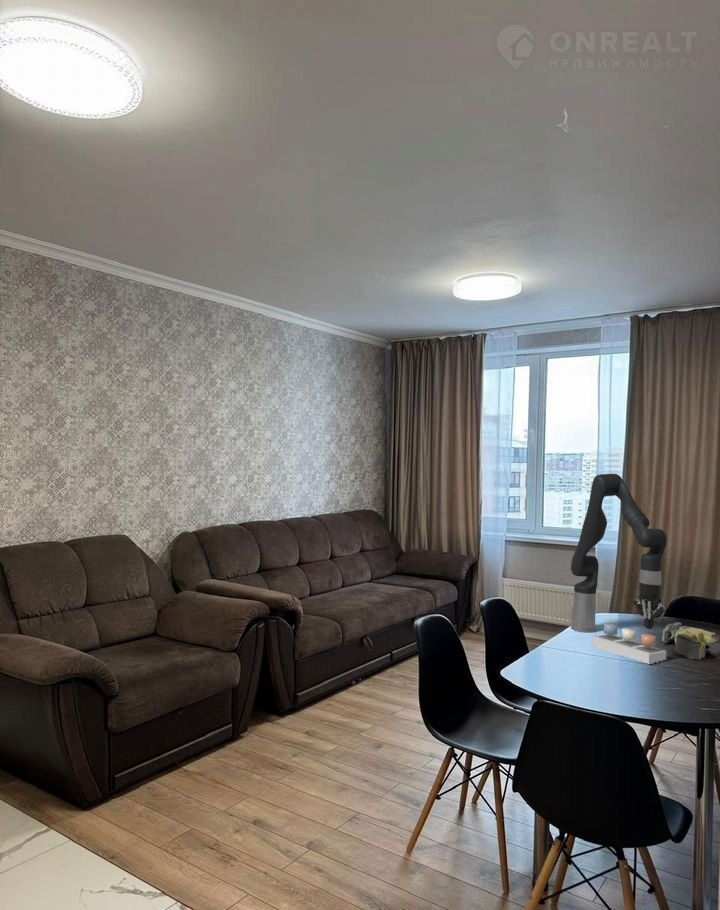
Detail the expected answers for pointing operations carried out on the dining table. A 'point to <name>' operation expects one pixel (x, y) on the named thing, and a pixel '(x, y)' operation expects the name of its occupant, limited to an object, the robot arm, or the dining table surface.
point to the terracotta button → (648, 640)
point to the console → (629, 648)
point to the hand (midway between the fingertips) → (648, 628)
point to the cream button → (628, 634)
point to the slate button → (610, 628)
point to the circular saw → (691, 640)
